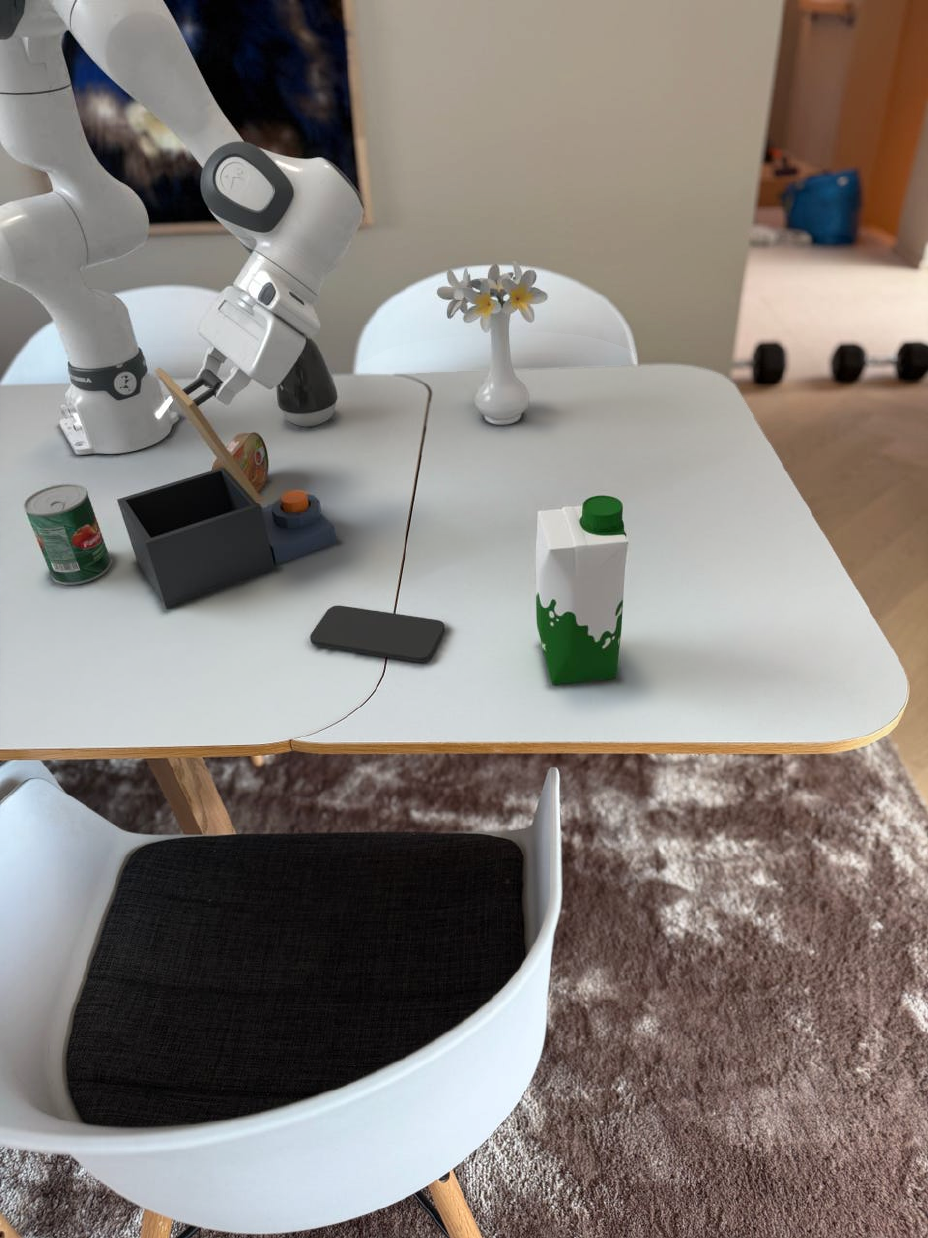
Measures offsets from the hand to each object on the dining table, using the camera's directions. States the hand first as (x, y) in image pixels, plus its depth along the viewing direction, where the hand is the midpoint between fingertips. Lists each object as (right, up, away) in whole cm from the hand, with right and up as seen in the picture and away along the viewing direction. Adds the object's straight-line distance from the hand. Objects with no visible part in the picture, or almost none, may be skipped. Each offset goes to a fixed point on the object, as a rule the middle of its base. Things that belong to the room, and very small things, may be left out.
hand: (211, 392), depth 111 cm
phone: (+21, -30, -3) cm, 36 cm away
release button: (+8, -12, +15) cm, 21 cm away
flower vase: (+37, +6, +43) cm, 57 cm away
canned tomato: (-21, -21, +13) cm, 33 cm away
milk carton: (+44, -33, -9) cm, 55 cm away
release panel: (+7, -16, +16) cm, 24 cm away
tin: (-2, -9, +27) cm, 28 cm away
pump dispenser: (+4, +7, +47) cm, 48 cm away
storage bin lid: (-1, -5, +3) cm, 6 cm away
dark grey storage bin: (-4, -21, +12) cm, 24 cm away
